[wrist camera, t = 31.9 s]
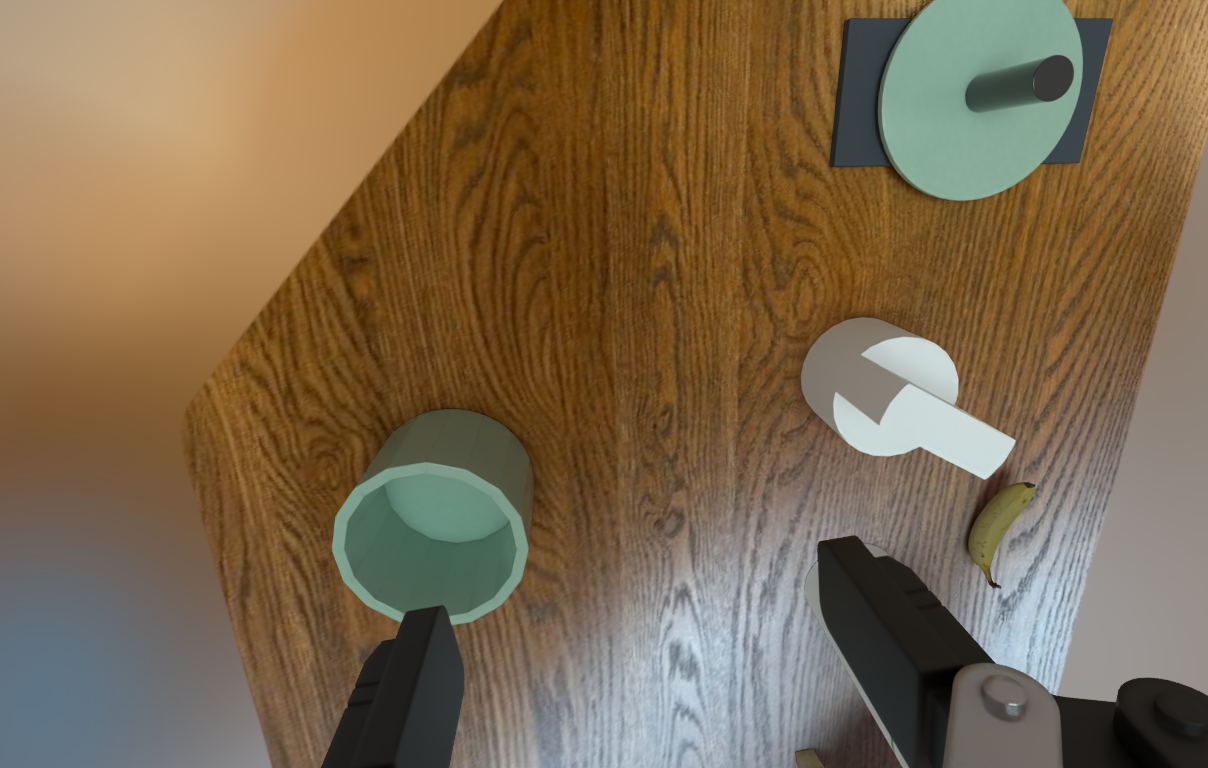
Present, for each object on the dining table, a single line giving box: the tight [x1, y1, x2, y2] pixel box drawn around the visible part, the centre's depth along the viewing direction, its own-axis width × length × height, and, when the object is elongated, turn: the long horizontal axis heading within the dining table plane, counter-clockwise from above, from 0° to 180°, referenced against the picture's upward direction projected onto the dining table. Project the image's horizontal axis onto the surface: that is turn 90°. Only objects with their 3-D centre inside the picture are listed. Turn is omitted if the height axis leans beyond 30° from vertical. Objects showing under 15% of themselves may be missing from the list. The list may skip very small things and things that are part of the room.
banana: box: [968, 482, 1035, 589], centre depth 50 cm, size 10×2×4 cm, turn 175°
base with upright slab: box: [801, 317, 1016, 480], centre depth 41 cm, size 9×9×12 cm
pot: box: [332, 409, 535, 625], centre depth 43 cm, size 13×13×10 cm
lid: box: [878, 0, 1083, 201], centre depth 37 cm, size 14×14×7 cm
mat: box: [830, 18, 1113, 167], centre depth 40 cm, size 18×9×1 cm, turn 91°
